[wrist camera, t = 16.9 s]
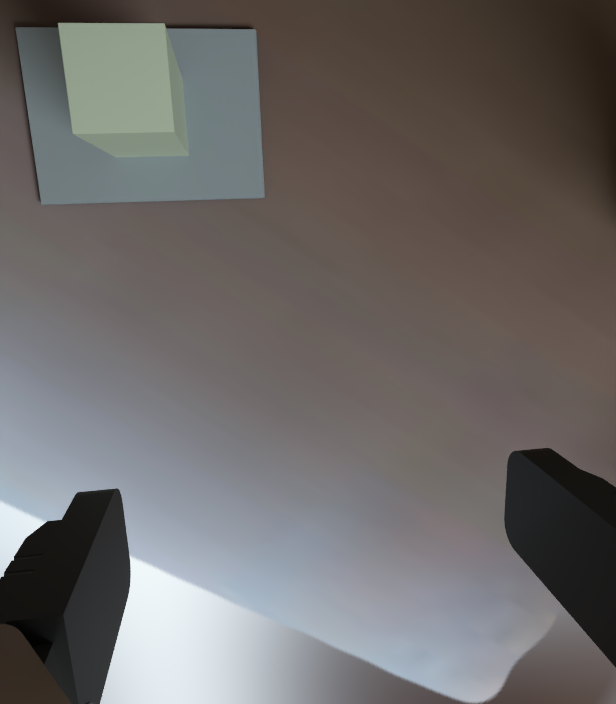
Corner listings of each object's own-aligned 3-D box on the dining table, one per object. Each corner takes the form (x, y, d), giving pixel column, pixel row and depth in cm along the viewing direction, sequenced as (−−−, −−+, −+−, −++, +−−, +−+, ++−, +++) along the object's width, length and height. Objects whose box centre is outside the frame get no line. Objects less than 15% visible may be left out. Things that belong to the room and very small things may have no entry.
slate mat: (255, 31, 34) (256, 29, 34) (264, 197, 37) (264, 197, 36) (17, 29, 32) (15, 27, 32) (43, 204, 35) (41, 204, 34)
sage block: (182, 78, 34) (164, 23, 24) (189, 155, 35) (174, 132, 25) (106, 79, 33) (57, 22, 24) (116, 157, 34) (72, 134, 25)
